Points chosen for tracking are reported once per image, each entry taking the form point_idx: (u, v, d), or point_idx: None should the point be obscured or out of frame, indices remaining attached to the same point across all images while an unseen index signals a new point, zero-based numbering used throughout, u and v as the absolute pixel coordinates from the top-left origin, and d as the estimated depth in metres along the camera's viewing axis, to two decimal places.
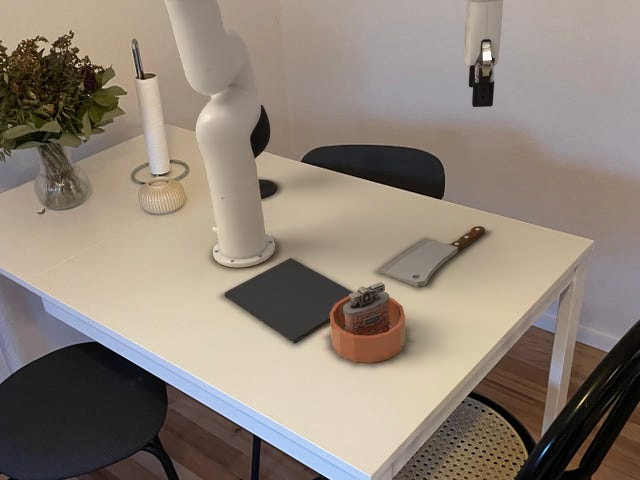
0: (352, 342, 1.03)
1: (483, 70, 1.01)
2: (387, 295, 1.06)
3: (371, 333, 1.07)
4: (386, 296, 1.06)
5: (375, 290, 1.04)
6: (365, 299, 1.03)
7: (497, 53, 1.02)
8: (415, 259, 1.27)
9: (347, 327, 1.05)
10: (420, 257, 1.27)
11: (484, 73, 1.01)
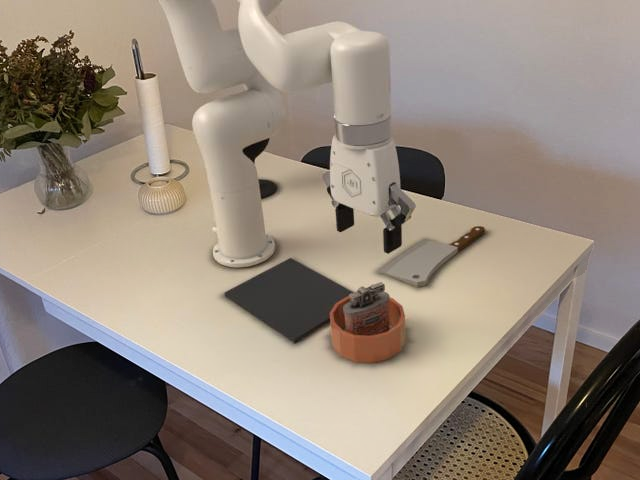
0: (352, 342, 1.03)
1: (407, 215, 0.90)
2: (387, 295, 1.06)
3: (371, 333, 1.07)
4: (386, 296, 1.06)
5: (375, 290, 1.04)
6: (365, 299, 1.03)
7: None
8: (415, 259, 1.27)
9: (347, 327, 1.05)
10: (420, 257, 1.27)
11: (406, 218, 0.91)
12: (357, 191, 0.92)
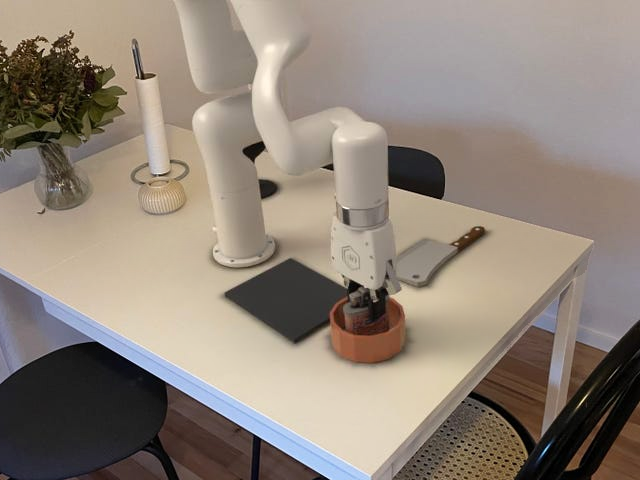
0: (352, 342, 1.03)
1: (390, 294, 0.99)
2: (387, 295, 1.06)
3: (371, 333, 1.07)
4: (386, 296, 1.06)
5: None
6: (365, 299, 1.03)
7: (396, 267, 0.99)
8: (415, 259, 1.27)
9: (347, 327, 1.05)
10: (420, 257, 1.27)
11: (389, 294, 0.99)
12: (356, 265, 0.98)
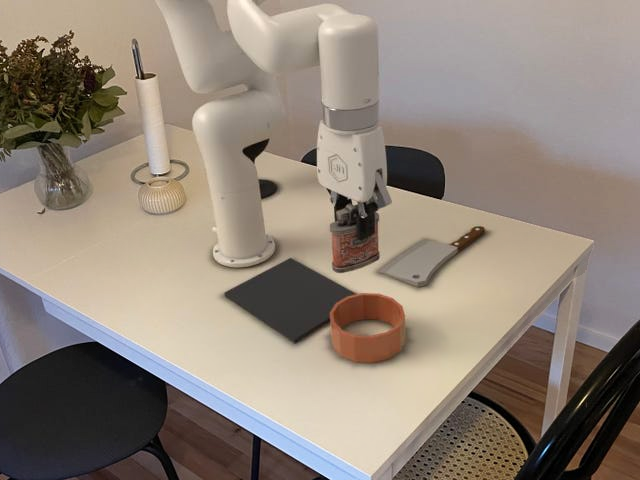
0: (352, 342, 1.03)
1: None
2: (377, 215, 0.99)
3: (359, 255, 1.00)
4: (376, 215, 0.99)
5: None
6: (353, 217, 0.97)
7: (386, 179, 0.92)
8: (415, 259, 1.27)
9: (333, 248, 0.99)
10: (420, 257, 1.27)
11: (378, 208, 0.93)
12: (343, 176, 0.92)
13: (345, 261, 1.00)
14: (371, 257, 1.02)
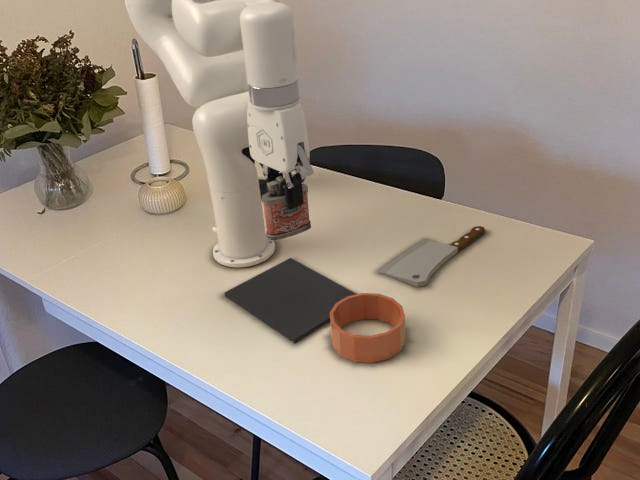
0: (352, 342, 1.03)
1: (303, 178, 1.02)
2: (306, 186, 1.09)
3: (290, 224, 1.10)
4: (304, 187, 1.09)
5: None
6: (282, 188, 1.07)
7: (309, 152, 1.02)
8: (415, 259, 1.27)
9: (266, 217, 1.08)
10: (420, 257, 1.27)
11: (302, 179, 1.02)
12: (270, 150, 1.01)
13: (277, 229, 1.09)
14: (302, 226, 1.11)
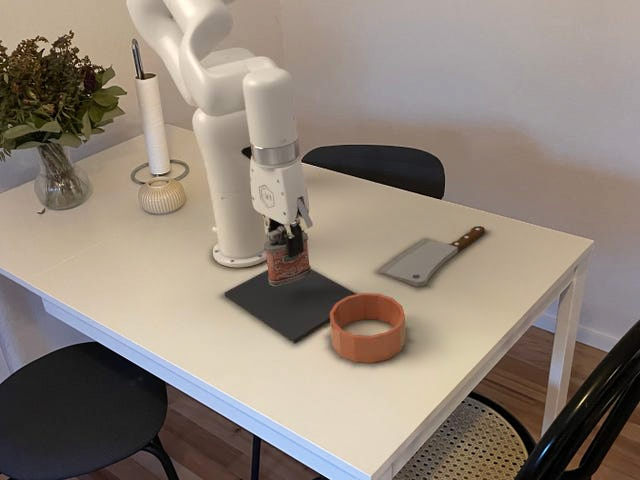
0: (352, 342, 1.03)
1: (303, 230, 1.07)
2: (306, 235, 1.15)
3: (291, 270, 1.15)
4: (304, 235, 1.14)
5: None
6: (284, 237, 1.12)
7: None
8: (415, 259, 1.27)
9: (268, 264, 1.14)
10: (420, 257, 1.27)
11: (302, 230, 1.08)
12: (271, 203, 1.07)
13: (279, 275, 1.15)
14: (303, 272, 1.17)
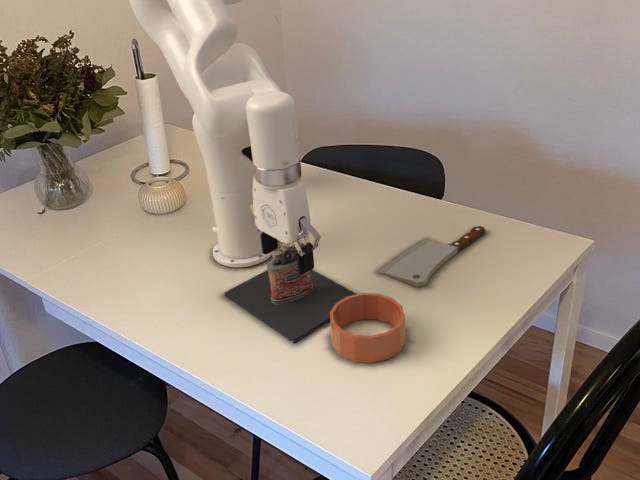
0: (352, 342, 1.03)
1: (314, 244, 1.07)
2: None
3: (293, 289, 1.17)
4: None
5: (295, 249, 1.15)
6: (286, 257, 1.14)
7: (310, 224, 1.09)
8: (415, 259, 1.27)
9: (271, 283, 1.16)
10: (420, 257, 1.27)
11: (313, 246, 1.08)
12: (273, 222, 1.09)
13: (281, 294, 1.17)
14: (305, 290, 1.19)
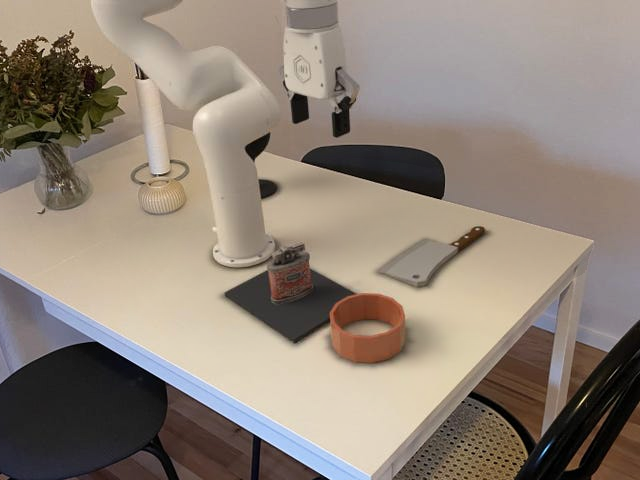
0: (352, 342, 1.03)
1: (352, 97, 0.98)
2: (308, 254, 1.17)
3: (293, 289, 1.17)
4: (306, 255, 1.17)
5: (295, 249, 1.15)
6: (286, 257, 1.14)
7: None
8: (415, 259, 1.27)
9: (271, 283, 1.16)
10: (420, 257, 1.27)
11: (351, 100, 0.98)
12: (307, 76, 1.00)
13: (281, 294, 1.17)
14: (305, 290, 1.19)
